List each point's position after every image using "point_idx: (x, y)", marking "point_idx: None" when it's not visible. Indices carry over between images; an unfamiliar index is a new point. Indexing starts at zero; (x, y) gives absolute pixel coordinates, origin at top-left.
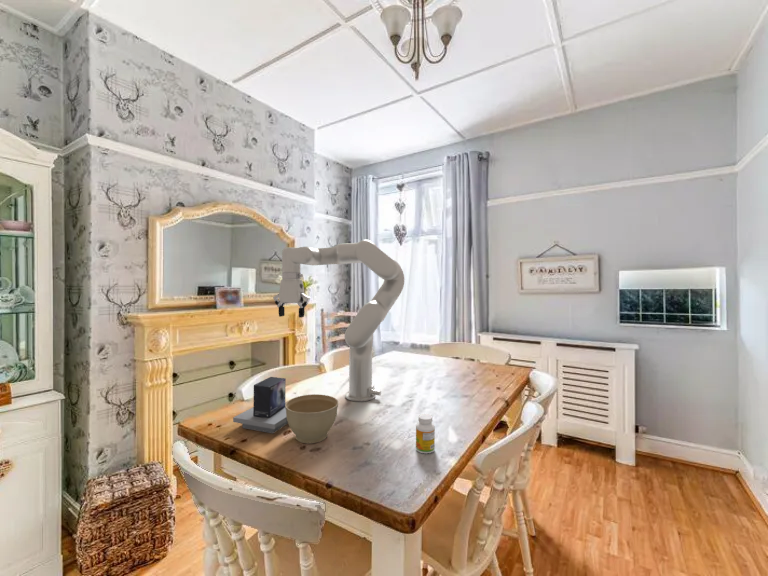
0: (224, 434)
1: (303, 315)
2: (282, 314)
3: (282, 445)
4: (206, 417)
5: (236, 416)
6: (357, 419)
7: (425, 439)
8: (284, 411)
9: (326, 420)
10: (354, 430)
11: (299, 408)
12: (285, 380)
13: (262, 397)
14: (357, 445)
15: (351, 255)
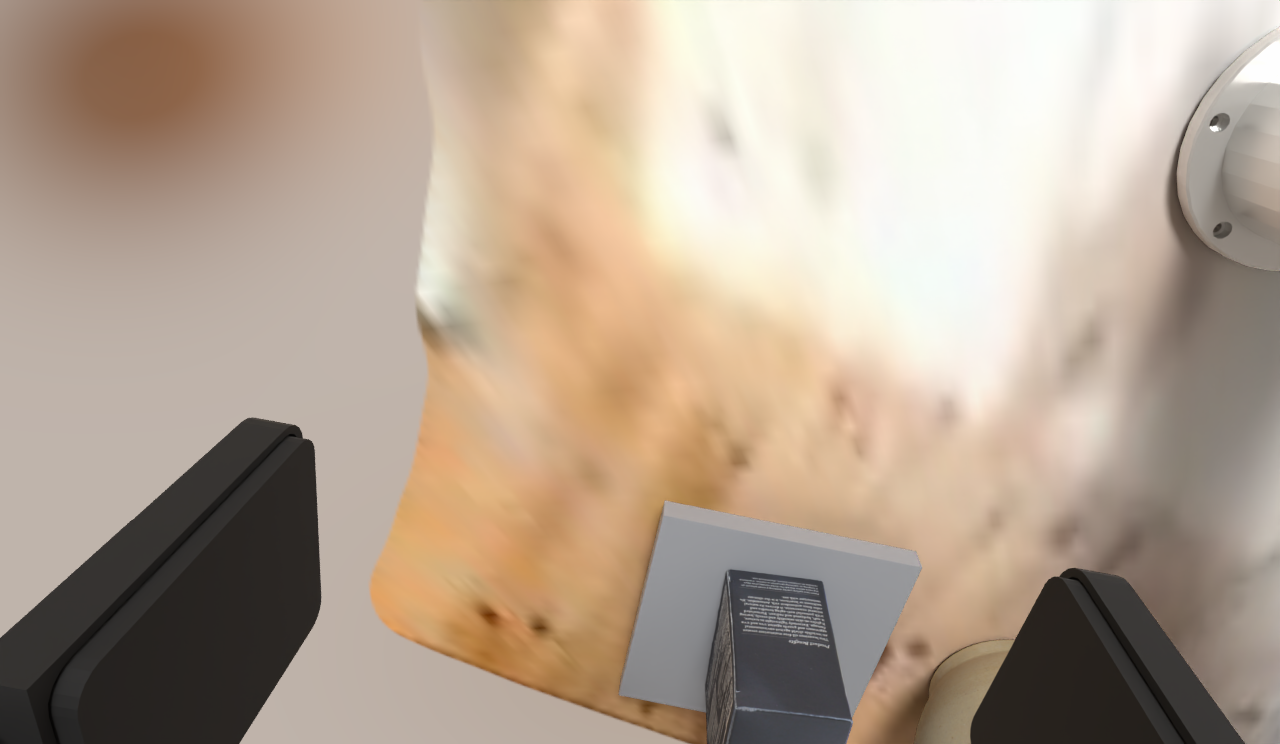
0: (615, 683)
1: (1120, 622)
2: (293, 566)
3: (888, 738)
4: (415, 558)
5: (626, 685)
6: (1231, 521)
7: None
8: (838, 629)
9: None
10: (1200, 626)
11: (953, 720)
12: (850, 712)
13: None
14: None
15: None
